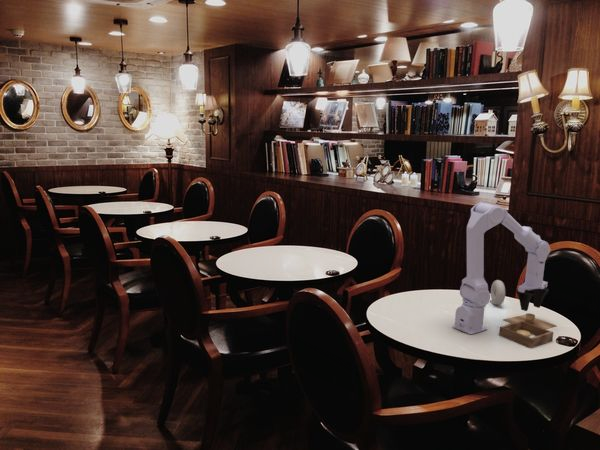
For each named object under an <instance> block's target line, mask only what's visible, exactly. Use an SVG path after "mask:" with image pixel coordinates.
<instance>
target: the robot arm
mask: <svg viewBox="0 0 600 450" xmlns="http://www.w3.org/2000/svg"><path fill="white" fill-rule="evenodd" d="M499 224H501V225H503V226H504V227H505V228H507V229H508V230H509V231H511V232H512V233H513V235H514V239H515V240H516V241H517V242H518V243H519V244H520V245H522V246H523V247H524V249H525V252H527V260H526V271H525V280H524V282H523V283H522V284H521V285H518V288H517V289H516V295H517V297H518V300H519V305H520V310H522V311H524V312H528V309H529V308H530V307H529V306H530V302H531V300H532V299H533V302H532V305H533V307H535V308H540V307H541V305H542V303H543V301H544V299H545V298H546V295H547V294H548V293H549V291H550V289H549V288H547V287H548V285H549V284H548V283H549V282H548V281H545V280H544V271H545V264H546V260H547V257H548V256H549V255H550V252H551V250H552V248H551V247H550V244H549V243H548V241H545V240H544V239H543V240H542V238H541V236H540V235H539V234H536V233H535V232H534V231H533V228H532V227H531V226H525V225H523V226H522V225H521V224H520V223H519V222H518V221H517V220H516V219H515V218H514V217H513V216H512V215H511V214H510V213H508V210H507V209H505V208H503V207H502V206H501V205H496V204H495V205H494V204H491V203H486V202H485V201H479V202H477V203H476V204H474V206H472V207H471V209H470V218H469V219H468V223H467V225H466V277H464V278H463V279H462V280H461V285H460V289H459V295H460V297H461V298H462V304H461V305H460V306H459V307H457V308H456V310H455V318H454V325H452V328H454V329H455V330H459V331H461V332H464V333H466V334H469V335H473V334H477V333H481V332H484V331H487V330H489V328H488V327H486V326H484V319H485V318H484V317H485V316H484V315H485V307H486V306H487V305H488V304H489V302H490V300H491V292H490V291H489V285H488V283H487V281H486V279H485V277H484V273H485V272H484V271H485V269H484V268H485V265H484V263H485V262H484V261H485V260H484V256H485V255H484V254H485V251H484V248H485V247H484V246H485V244H484V242H485V239H484V238H485V237H484V236H485V233H486V232H487V231H488V230H490V229H492V228H493V227H496V226H497V225H499ZM530 291H532V292H533V293H532V292H530ZM532 297H533V298H532ZM486 308H487V307H486Z"/></svg>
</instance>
